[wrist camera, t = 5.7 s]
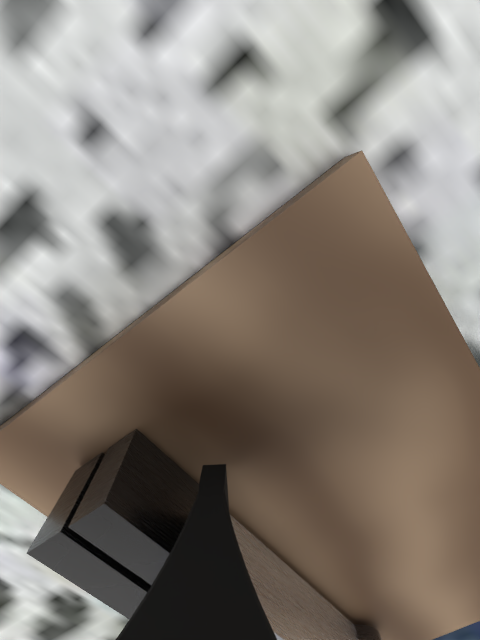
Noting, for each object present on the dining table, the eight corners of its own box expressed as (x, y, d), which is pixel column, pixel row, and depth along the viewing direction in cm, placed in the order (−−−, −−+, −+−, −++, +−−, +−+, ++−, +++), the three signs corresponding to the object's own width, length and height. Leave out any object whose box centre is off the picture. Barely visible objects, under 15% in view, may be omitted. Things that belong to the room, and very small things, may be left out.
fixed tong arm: (310, 626, 16) (326, 717, 13) (286, 636, 17) (297, 727, 14) (102, 452, 12) (60, 531, 9) (75, 470, 12) (26, 553, 9)
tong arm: (389, 640, 17) (422, 735, 14) (345, 657, 18) (368, 753, 15) (149, 419, 11) (118, 497, 8) (96, 456, 12) (50, 542, 9)
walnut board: (292, 659, 21) (296, 692, 19) (-8, 432, 14) (-36, 458, 12) (563, 545, 17) (592, 576, 16) (344, 157, 10) (361, 150, 9)
